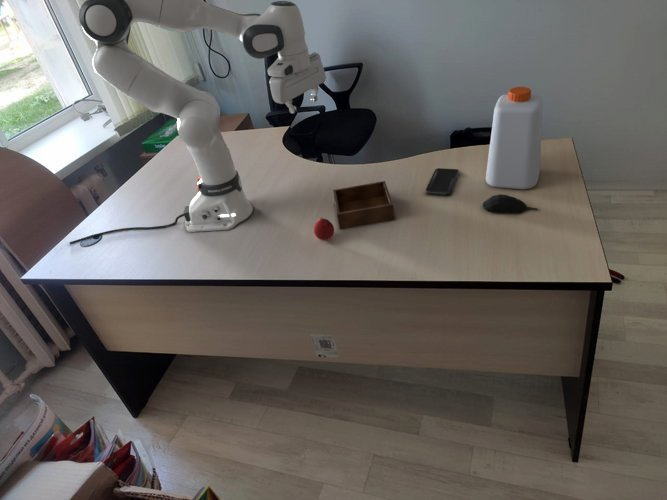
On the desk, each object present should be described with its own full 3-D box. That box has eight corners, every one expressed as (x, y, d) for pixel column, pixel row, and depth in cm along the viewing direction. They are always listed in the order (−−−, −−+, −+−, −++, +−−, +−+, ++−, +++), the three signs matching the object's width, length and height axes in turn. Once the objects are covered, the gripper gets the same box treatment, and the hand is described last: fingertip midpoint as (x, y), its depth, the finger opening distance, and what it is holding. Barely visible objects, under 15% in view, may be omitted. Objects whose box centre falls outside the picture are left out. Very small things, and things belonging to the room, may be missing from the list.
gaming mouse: (537, 216, 132) (538, 203, 130) (481, 213, 137) (482, 201, 135) (537, 203, 137) (538, 191, 135) (483, 201, 142) (484, 189, 140)
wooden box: (339, 229, 142) (336, 214, 139) (335, 204, 154) (333, 189, 150) (394, 219, 142) (393, 204, 138) (386, 195, 153) (384, 180, 150)
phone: (425, 191, 149) (436, 167, 160) (425, 194, 150) (436, 170, 160) (450, 193, 146) (459, 169, 157) (450, 196, 147) (459, 172, 157)
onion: (336, 233, 141) (332, 210, 136) (334, 245, 136) (330, 222, 131) (317, 234, 142) (312, 212, 137) (315, 246, 137) (309, 223, 132)
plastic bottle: (491, 164, 158) (496, 80, 141) (540, 167, 152) (551, 80, 135) (483, 188, 148) (486, 100, 131) (535, 192, 142) (546, 100, 125)
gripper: (311, 49, 148) (319, 93, 156) (262, 72, 137) (274, 117, 145) (326, 50, 144) (333, 95, 152) (277, 73, 133) (288, 120, 141)
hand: (304, 106), depth 148 cm, fingers open, 8 cm apart
